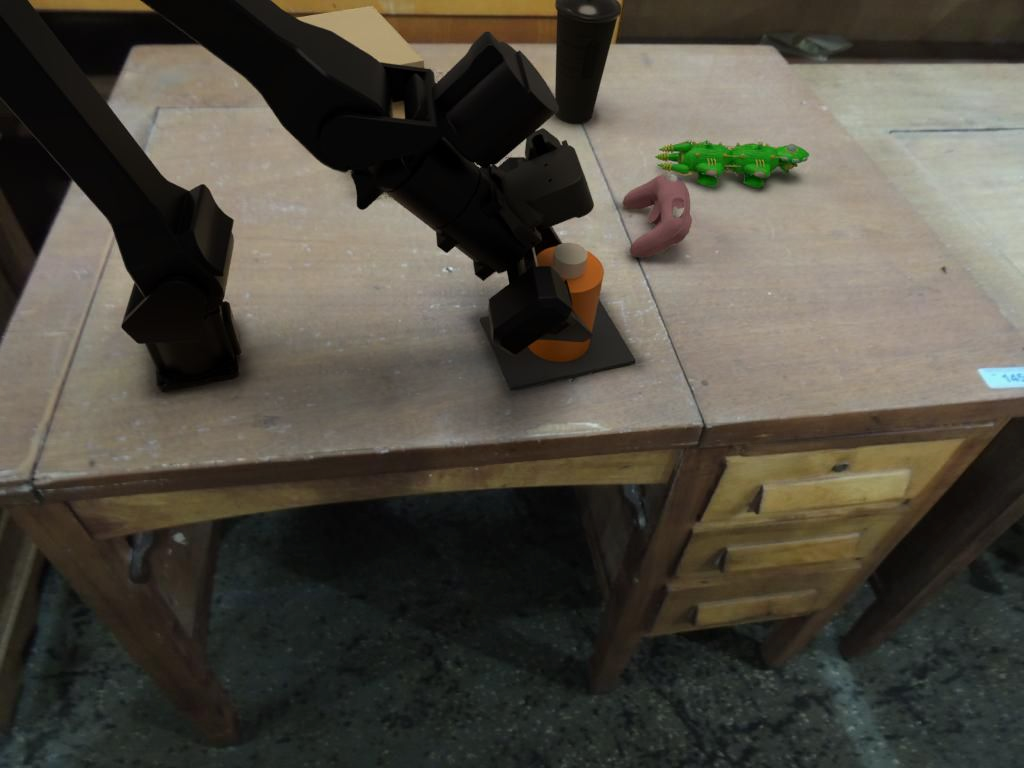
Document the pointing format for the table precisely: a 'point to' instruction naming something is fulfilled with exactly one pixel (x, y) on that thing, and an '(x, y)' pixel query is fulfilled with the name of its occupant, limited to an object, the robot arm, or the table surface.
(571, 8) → the drinking cup
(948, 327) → the table surface
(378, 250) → the table surface
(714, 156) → the crocodile figurine
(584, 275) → the orange bottle
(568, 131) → the table surface
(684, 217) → the video game controller
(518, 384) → the mat
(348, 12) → the cabinet
